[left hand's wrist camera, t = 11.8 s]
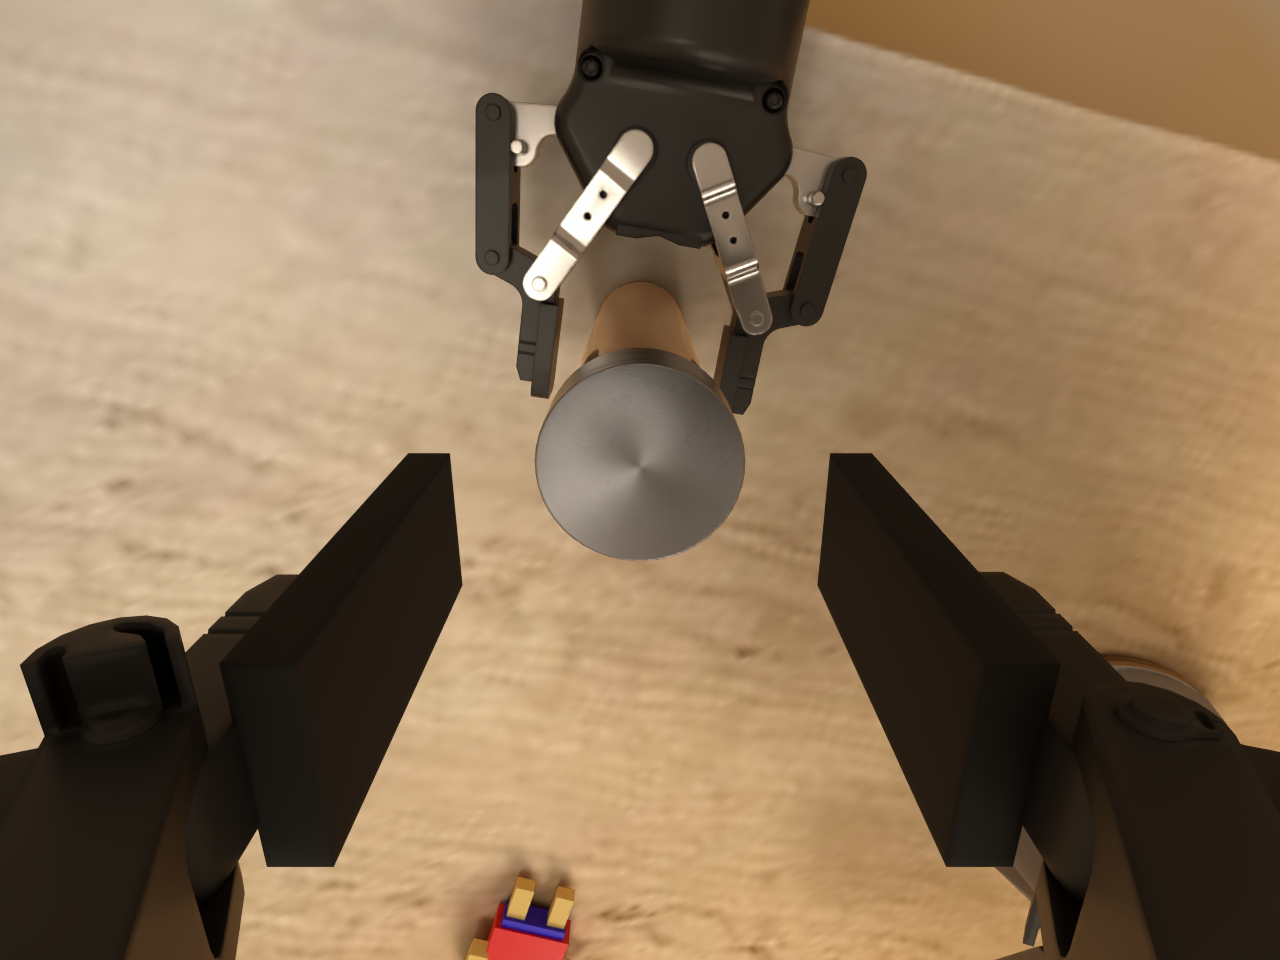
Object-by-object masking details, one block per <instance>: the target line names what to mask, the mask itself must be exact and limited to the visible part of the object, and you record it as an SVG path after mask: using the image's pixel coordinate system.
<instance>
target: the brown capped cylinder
mask: <svg viewBox="0 0 1280 960" xmlns="http://www.w3.org/2000/svg"><path fill="white" fill-rule="evenodd" d="M626 348H654V349H661V350H664V351H668V352H672V353H674V354H677V355H679V356H682V357H684V358H686V359H687V360H689V361H691V362H693V363H694V364H696V365H697V366H698V367H700V368H701V366H700V364H699V361H698V358H697V355H696V352H695V349H694V347H693V344H692V341H691V338H690V335H689V333H688V330H687V327H686V324H685V321H684V319H683V316H682V313H681V310H680V308H679V306H678V304H677V302H676V301H675V299H674V298H673V297H672V296H671V294H670V293H668V292H667V291H666V290H665V289H663V288H661V287H660V286H658V285H655V284H652V283H649V282H631V283H628V284H625V285H622V286H620V287H619V288H617V289H615V290H614V291H613V292H612V293H610V295H609V296H608V297H607V298H606V299H605V301H604V302H603V304H602V306H601V308H600V310H599V313H598V316H597V319H596V321H595V324H594V327H593V330H592V333H591V336H590V338H589V341H588V344H587V347H586V350H585V352H584V355H583V358H582V361H581V364H580V366H579V368H580V367H582V366H583V365H584V364H586V363H587V362H589V361H591V360H593V359H594V358H596V357H599V356H601V355H603V354H606V353H608V352H612V351H616V350H619V349H626Z"/></svg>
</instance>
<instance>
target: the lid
mask: <svg viewBox="0 0 1280 960" xmlns="http://www.w3.org/2000/svg"><path fill="white" fill-rule="evenodd" d="M535 472H536V478H537V483H538V487H539V490H540V493H541V496H542V499H543V501H544V503H545V505H546V507H547V509H548V510H549V512H550V513H551V515H552V516H553V518H554V519H555V521H556V522H557V523H558V524H559V525H560V526H561V527H562V529H563V530H564V531H566V532H567V533H568V534H569V535H570V536H571V537H572V538H574V539H575V540H576V541H578V542H579V543H581V544H582V545H584V546H586V547H588V548H590V549H591V550H593V551H595V552H598V553H601V554H603V555H606V556H609V557H613V558H618V559H623V560H631V561H649V560H657V559H663V558H667V557H671V556H674V555H677V554H679V553H682V552H685V551H687V550H689V549H691V548H692V547H694V546H696V545H698V544H699V543H701V542H702V541H704V540H705V539H707V538H708V537H709V536H710V535H711V534H712V533H713V532H715V531H716V530H717V529H718V528H719V526H720V525H721V524H722V523H723V522H724V521H725V519H726V518H727V516H728V515H729V513H730V512H731V511H732V509H733V507H734V505H735V503H736V501H737V499H738V496H739V493H740V490H741V487H742V484H743V478H744V473H745V452H744V445H743V440H742V436H741V433H740V430H739V428H738V425H737V422H736V420H735V418H734V415H733V413H732V411H731V408H730V406H729V404H728V401H727V400H726V398H725V396H724V394H723V392H722V391H721V389H720V388H719V387H718V385H717V384H716V383H715V381H714V380H713V379H712V378H711V377H710V376H709V375H708V374H707V373H706V372H705V371H704V370H702V369H701V368H700V367H698V366H697V365H696V364H694V363H693V362H691V361H689V360H687V359H686V358H684V357H682V356H679V355H677V354H674V353H672V352H668V351H664V350H661V349H654V348H626V349H619V350H616V351H612V352H608V353H606V354H603V355H601V356H599V357H596V358H594V359H593V360H591V361H589V362H587V363H586V364H584V365H583V366H582V367H580V368H579V369H578V370H576V371H575V372H574V373H573V374H572V375H571V376H570V377H569V378H568V379H567V380H566V381H565V383H564V384H563V385H562V387H561V388H560V389H559V391H558V392H557V394H556V396H555V398H554V400H553V401H552V404H551V406H550V408H549V411H548V413H547V415H546V418H545V420H544V422H543V425H542V428H541V430H540V433H539V436H538V441H537V445H536V453H535Z"/></svg>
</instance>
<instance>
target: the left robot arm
mask: <svg viewBox="0 0 1280 960" xmlns="http://www.w3.org/2000/svg"><path fill="white" fill-rule="evenodd" d="M461 587H462V576H461V566H460V555H459V545H458V534H457V524H456V513H455V503H454V493H453V482H452V472H451V461H450V453H408V454H407V455H406V457H405V458H404V459H403V460H402V461H401V462H400V463H399V464H398V465H397V466H396V468H395V469H394V470H393V471H392V472H391V473H390V474H389V475H388V476H387V478H386V479H385V480H384V481H383V482H382V483H381V484H380V485H379V486H378V488H377V489H376V490H375V491H374V492H373V493H372V494H371V495H370V496H369V498H368V499H367V500H366V501H365V502H364V503H363V504H362V505H361V506H360V508H359V509H358V510H357V511H356V512H355V513H354V514H353V515H352V516H351V517H350V519H349V520H348V521H347V522H346V523H345V524H344V525H343V526H342V527H341V529H340V530H339V531H338V532H337V533H336V534H335V535H334V536H333V537H332V539H331V540H330V541H329V542H328V543H327V544H326V545H325V546H324V547H323V549H322V550H321V551H320V552H319V553H318V554H317V555H316V556H315V557H314V559H313V560H312V561H311V562H310V563H309V564H308V565H307V566H306V567H305V569H304V570H303V571H302V572H301V573H300V574H299V575H276V576H274V577H272V578H270V579H268V580H266V581H265V582H263V583H261V584H259V585H257V586H256V587H254V588H252V589H250V590H248V591H247V592H245V593H244V594H243V595H242V596H241V597H240V598H239V599H238V600H237V601H236V602H235V603H234V604H233V605H232V606H231V607H230V608H229V609H228V610H227V611H226V612H225V617H220V618H219V619H218V620H217V621H216V622H215V623H214V624H213V625H212V626H211V627H210V628H209V629H208V634H203V635H202V636H201V637H200V638H199V639H198V640H197V641H196V642H195V643H194V644H193V645H192V646H191V647H190V648H189V649H188V650H187V651H186V652H185V650H184V646H183V642H182V638H181V634H180V630H179V626H177V625H176V624H174V623H173V622H171V621H170V620H168V619H167V618H160V617H153V616H134V617H121V618H116V619H112V620H107V621H103V622H99V623H94V624H90V625H87V626H85V627H82V628H79V629H77V630H74V631H72V632H69V633H66V634H64V635H61V636H59V637H57V638H56V639H54V640H52V641H50V642H49V643H47V644H45V645H43V646H42V647H40V648H38V649H36V650H35V651H34V652H33V653H32V654H31V655H30V656H29V657H28V658H27V659H26V660H25V661H24V662H23V663H22V664H21V665H20V667H21V670H22V673H23V675H24V678H25V681H26V684H27V687H28V690H29V693H30V695H31V698H32V701H33V704H34V707H35V710H36V713H37V716H38V718H39V721H40V724H41V727H42V730H43V733H44V736H45V737H44V738H43V740H42V742H41V744H40V746H39V747H38V748H36V749H32V750H26V751H21V752H16V753H11V754H6V755H1V756H0V960H235V957H236V950H237V943H238V936H239V929H240V922H241V915H242V908H243V901H244V894H245V893H244V885H243V878H242V874H241V870H240V866H239V862H238V860H239V859H240V857H241V855H242V854H243V852H244V851H245V849H246V847H247V846H248V844H249V842H250V841H251V839H252V837H253V836H254V834H255V832H256V831H257V829H258V831H259V835H260V839H261V843H262V848H263V852H264V856H265V860H266V865H267V867H334V865H335V863H336V861H337V858H338V856H339V854H340V852H341V850H342V848H343V845H344V843H345V841H346V839H347V837H348V834H349V832H350V830H351V828H352V826H353V823H354V821H355V819H356V817H357V815H358V813H359V810H360V808H361V806H362V804H363V802H364V799H365V797H366V795H367V793H368V791H369V788H370V786H371V784H372V782H373V780H374V777H375V775H376V773H377V771H378V769H379V767H380V764H381V762H382V760H383V758H384V756H385V753H386V751H387V749H388V747H389V745H390V742H391V740H392V738H393V736H394V734H395V732H396V729H397V727H398V725H399V723H400V721H401V718H402V716H403V714H404V712H405V710H406V707H407V705H408V703H409V701H410V699H411V697H412V694H413V692H414V690H415V688H416V686H417V683H418V681H419V679H420V677H421V675H422V672H423V670H424V668H425V666H426V664H427V661H428V659H429V657H430V655H431V653H432V651H433V648H434V646H435V644H436V642H437V640H438V637H439V635H440V633H441V631H442V629H443V626H444V624H445V622H446V620H447V618H448V616H449V613H450V611H451V609H452V607H453V605H454V602H455V600H456V598H457V596H458V594H459V591H460V589H461ZM818 587H819V589H820V591H821V594H822V596H823V598H824V600H825V602H826V605H827V607H828V609H829V611H830V613H831V616H832V618H833V620H834V622H835V624H836V626H837V629H838V631H839V633H840V635H841V637H842V640H843V642H844V644H845V646H846V648H847V651H848V653H849V655H850V657H851V659H852V662H853V664H854V666H855V668H856V670H857V672H858V675H859V677H860V679H861V681H862V683H863V686H864V688H865V690H866V692H867V694H868V697H869V699H870V701H871V703H872V705H873V707H874V710H875V712H876V714H877V716H878V718H879V721H880V723H881V725H882V727H883V729H884V732H885V734H886V736H887V738H888V740H889V742H890V745H891V747H892V749H893V751H894V753H895V756H896V758H897V760H898V762H899V764H900V767H901V769H902V771H903V773H904V775H905V777H906V780H907V782H908V784H909V786H910V788H911V791H912V793H913V795H914V797H915V799H916V802H917V804H918V806H919V808H920V810H921V813H922V815H923V817H924V819H925V821H926V823H927V826H928V828H929V830H930V832H931V834H932V837H933V839H934V841H935V843H936V845H937V848H938V850H939V852H940V854H941V856H942V858H943V861H944V863H945V865H946V867H995V868H996V869H997V870H998V871H999V872H1000V873H1001V874H1002V875H1004V876H1005V877H1006V878H1007V879H1008V880H1009V881H1010V882H1011V883H1012V884H1013V885H1014V886H1015V887H1016V888H1017V889H1018V890H1019V891H1020V892H1021V893H1022V894H1024V895H1025V896H1026V897H1027V898H1028V899H1029V900H1030V901H1031V905H1030V909H1029V913H1028V917H1027V921H1026V925H1025V931H1024V937H1023V943H1024V944H1027V945H1030V946H1034V944H1035V940H1036V936H1037V932H1038V929H1040V928H1041V934H1042V941H1043V946H1039V947H1035V948H1032V949H1028V950H1025V951H1022V952H1019V953H1015V954H1012V955H1009V956H1006V957H1003V958H999V959H996V960H1280V752H1277V751H1272V750H1267V749H1262V748H1256V747H1251V746H1246V745H1242V744H1240V742H1239V741H1238V739H1237V737H1236V735H1235V734H1234V733H1233V732H1232V731H1231V729H1230V728H1229V727H1228V726H1227V724H1226V723H1225V721H1224V720H1223V718H1222V717H1221V716H1220V715H1219V713H1218V712H1217V711H1216V710H1215V709H1214V707H1213V706H1212V705H1211V704H1210V702H1209V701H1208V700H1207V699H1205V698H1204V697H1203V696H1202V695H1201V694H1200V693H1199V692H1198V691H1197V690H1196V689H1194V688H1193V687H1192V686H1191V685H1190V684H1189V683H1188V682H1187V681H1185V680H1184V679H1183V678H1181V677H1180V676H1179V675H1177V674H1176V673H1174V672H1172V671H1170V670H1169V669H1167V668H1165V667H1162V666H1160V665H1157V664H1155V663H1152V662H1148V661H1145V660H1141V659H1136V658H1131V657H1122V656H1101V655H1100V654H1099V653H1098V652H1097V651H1096V650H1095V649H1094V648H1093V647H1092V646H1091V645H1090V644H1089V643H1088V642H1087V641H1086V640H1085V639H1084V638H1083V637H1082V636H1081V635H1080V634H1079V633H1078V632H1077V631H1073V630H1072V626H1071V625H1070V624H1069V623H1068V622H1067V621H1066V620H1065V619H1064V618H1063V617H1062V616H1061V615H1060V614H1056V613H1055V609H1054V608H1053V607H1052V606H1051V605H1050V604H1049V603H1048V602H1047V601H1046V600H1045V599H1044V598H1043V597H1042V596H1041V595H1040V594H1039V593H1038V592H1037V591H1036V590H1035V589H1033V588H1031V587H1030V586H1028V585H1026V584H1024V583H1022V582H1020V581H1019V580H1017V579H1015V578H1013V577H1011V576H1010V575H1008V574H1006V573H1004V572H978V571H977V570H976V569H975V567H974V566H973V565H972V564H971V563H970V562H969V561H968V560H967V559H966V557H965V556H964V555H963V554H962V553H961V552H960V551H959V550H958V549H957V547H956V546H955V545H954V544H953V543H952V542H951V541H950V540H949V539H948V537H947V536H946V535H945V534H944V533H943V532H942V531H941V530H940V529H939V527H938V526H937V525H936V524H935V523H934V522H933V521H932V520H931V519H930V517H929V516H928V515H927V514H926V513H925V512H924V511H923V510H922V509H921V508H920V506H919V505H918V504H917V503H916V502H915V501H914V500H913V499H912V498H911V496H910V495H909V494H908V493H907V492H906V491H905V490H904V489H903V488H902V486H901V485H900V484H899V483H898V482H897V481H896V480H895V479H894V478H893V476H892V475H891V474H890V473H889V472H888V471H887V470H886V469H885V468H884V466H883V465H882V464H881V463H880V462H879V461H878V460H877V459H876V458H875V457H874V455H873V454H872V453H830V461H829V472H828V482H827V493H826V503H825V513H824V524H823V534H822V545H821V555H820V566H819V576H818Z"/></svg>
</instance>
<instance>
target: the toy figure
mask: <svg viewBox="0 0 1280 960" xmlns="http://www.w3.org/2000/svg"><path fill="white" fill-rule="evenodd" d="M535 883H536V881H535V880H531V879H526V878H522V877H518V878H517V881H516V884H515V887H514V890H513V893H512V896H511V899H510V901H509V900H507V901H506V904H505V905H502V904H499V906H498V909H497V912H496V915H495V918H494V921H493V924H492V927H491V930H490V933H489V936H488V939H487V941H485V940H480V939H476V938H473V941H472V943H471V946H470V948H469V950H468V953H467V955H466V958H465V960H569V959H565V958H564V955H565V952H566V950H567V947H568V944H569V932H570V920H567V919H568V916H569V913H570V911H571V908H572V905H573V903H574V894H575V890H573V889H569V888H564V887H560V886H558V887H557V890H556V893H555V895H554V898H553V901H552V904H551V906H550V909H549V910H548V909H543V908H539V907H535V906H530V903H531V900H532V897H533V894H534V891H535Z"/></svg>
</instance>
